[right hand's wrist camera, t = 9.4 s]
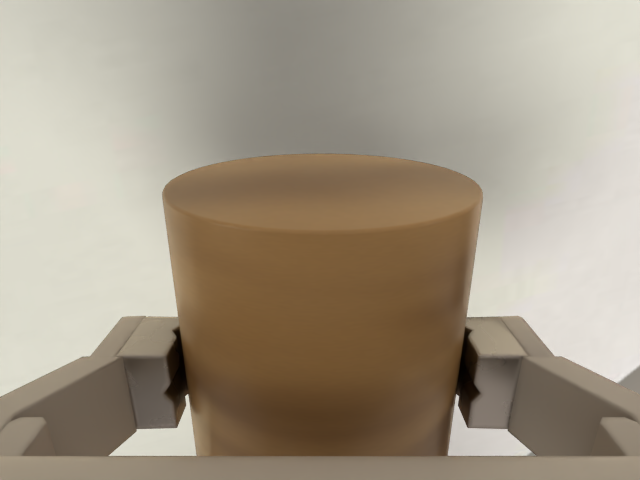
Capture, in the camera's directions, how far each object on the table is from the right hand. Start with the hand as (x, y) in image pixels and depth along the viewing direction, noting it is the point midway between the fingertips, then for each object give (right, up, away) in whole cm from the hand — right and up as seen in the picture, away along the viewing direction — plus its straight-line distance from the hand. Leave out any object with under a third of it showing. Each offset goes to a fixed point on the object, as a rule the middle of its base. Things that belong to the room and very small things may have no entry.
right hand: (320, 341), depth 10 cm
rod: (0, -6, +5) cm, 8 cm away
